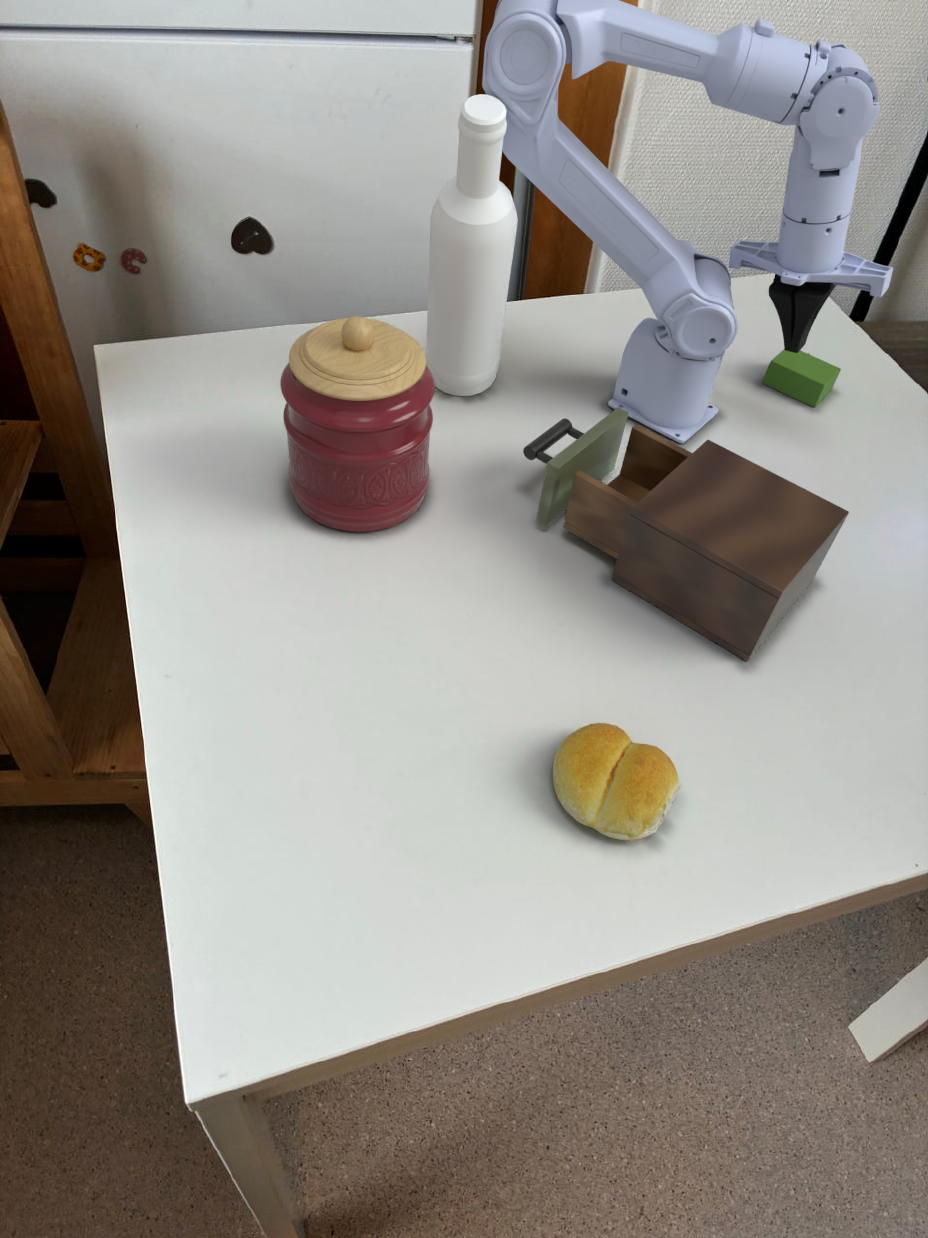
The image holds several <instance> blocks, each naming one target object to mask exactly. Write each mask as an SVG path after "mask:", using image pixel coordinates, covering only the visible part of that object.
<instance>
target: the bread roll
mask: <svg viewBox="0 0 928 1238" xmlns="http://www.w3.org/2000/svg"><path fill="white" fill-rule="evenodd" d="M552 783H553V784H552V785H553V787H554V791H555V794H556V797H557V799H558V802H559V803H560V804H561V806H562V808H563V809H564V811H566V813H568V815H570V816H571V817H572V818H573V819H574V820H575V821H576V822H578V823H580V824H582V825H583V826H586V827H589V828H592V829H594V830H595V831H597V832H598V833H600V834H602V835H603V836H604V837H609V838H611V839H615V840H620V841H632V842H634V841H638V840H642V839H644V838H647V837H649V836H651V835H654V834H655V833H656V832H657V830H658V829H659V828H660V826H661V825H662V823H663V822H664V820H665V819H666V818H667V814H668V812H669V811H670V810H671V808H672V807H673V802H674V801H675V799H676V798H677V796H678V792H679V791H680V789H681V787H682V784H681V782H680V780H679V776H678V771H677V768H676V766H675V764H674V762H673V761H672V759H671V758H670V757H669V755H668V754H666V752H665V751H664V750H662V749H661V748H659V747H658V746H655V745H652V744H648V743H637V742H633V740H631V738H630V736H629V735H628V734H627V732H626V731H625V730H624V729H622V727H619V726H618V725H614V724H610V723H605V722H604V723H603V722H602V723H601V722H596V723H589V724H587V725H585V726H582V727H579V728H578V729H576V730H575V731H573V732H571V733H569V734H568V735H567V736H566V737H565V738H564V739H563V740H562V741H561V743H560V744H559V745H558V747H557V749H556V751H555V753H554V757H553V763H552Z"/></svg>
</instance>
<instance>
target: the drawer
mask: <svg viewBox="0 0 928 1238" xmlns="http://www.w3.org/2000/svg"><path fill="white" fill-rule="evenodd" d="M628 418H629V416H628V412H627V411H625V410H623V409H621V408H619V407H618V408H617V409H614V410H613V411H612V412H610V413H609V414H608V415H606V416H605V417H604V418H603V419H601V420H600V421H598V422H596V424H595V425H594V426H592V427H591V428H589V429H588V430H587V431H585V432H582V431H581V430H579V429H577V428H575V427H573V423H572V421H570V419H568V418H562V419H560V420H559V421H558V422H556V423H555V424H554V425H552V426H551V427H550V428H548V429H547V430H546V431H544V432H543V433H542V434H540V435H539V436H538V437H536V438H535V439H534V440H532V441H531V442H529V443H528V444H527V445H525V446H524V447H523V450H522V452H523V456H524V457H525V458H526V459H527V460H529V461H534V460H535V459H537V460H538V461H540V462H542V463H544V464H545V471H544V475H543V476H544V477H543V480H542V481H543V482H542V488H541V493H540V498H539V503H538V509H537V514H536V520H535V521H536V522H537V523H539V524H541V525H543V526H545V527H547V526H549V525H550V524H551V523H552V522H553V521H555V520H556V519H557V518H558V517H560V516H561V515H562V514H563V513H564V512H565V518H564V522H563V527H562V528H563V529H565V530H567V531H568V532H570V533H572V534H574V535H575V536H577V537H579V538H580V539H582V540H583V541H585V542H587V543H589V544H591V545H592V546H593V547H595V548H597V549H598V550H600V551H601V552H604V553H605V554H607V555H609V556H610V557H612V558H614V559H616V560H617V558H618V555H619V552H620V548H621V545H622V541H623V538H624V534H625V531H626V528H627V524H628V521H629V517H630V514H631V511H632V507H633V506H635V505H636V504H637V503H638V502H639V501H640V500H641V499H642V498H643V497H645V496H646V495H647V494H648V493H649V492H650V491H651V490H652V489H653V488H654V487H656V486H657V485H658V484H659V483H660V482H661V481H662V480H663V479H664V478H666V477H667V476H668V475H669V474H670V473H671V472H672V471H673V470H674V469H676V468H677V467H678V466H679V465H680V464H681V463H682V462H683V461H684V460H685V459H687V458H688V457H689V456H690V455H691V454H692V453H693V452H691V451H689V450H688V449H686V448H683V447H682V446H680V445H679V444H676V443H675V442H672V441H670V440H668V439H667V438H664V437H662V436H661V435H658V434H657V433H655V432H653V431H651V430H648V429H647V428H645V427H643V426H641V425H639V424H637V423H636V424H634V425H633V426H632V427H631V430H630V433H629V437H628V441H627V443H626V444H627V445H626V449H625V452H624V455H623V459H622V464H621V468H620V471H619V474H618V475H617V476H615V477H614V479H612V480H611V481H610V482H608V483H607V484H606V483H603V482H602V481H603V479H605V478H606V477H607V476H608V475H609V474H610V473H612V472H613V471H614V470H615V467H616V463H617V460H618V455H619V452H620V449H621V444H622V439H623V436H624V432H625V428H626V424H627V420H628ZM566 435H568V436H569V437H572V438H573V439H575V440H574V441H572V443H570V444H569V445H568V446H566V447H565V448H564V449H562V451H560V452H559V453H557V454H556V455H554V457H552V456H551V455H549V454H548V453H546V451H547V450H548V449H549V448H551V447H552V446H554V445H555V444H556V443H558V442H559V441H560V440H561V439H563V438H564V437H565V436H566Z"/></svg>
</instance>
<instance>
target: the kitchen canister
mask: <svg viewBox="0 0 928 1238" xmlns="http://www.w3.org/2000/svg"><path fill="white" fill-rule="evenodd" d="M279 383H280V384H279V385H280V391H281V394H282V397H283V398H284V401H285V402H286V403H285V405H284V408H283V413H282V414H283V415H282V418H283V426H284V428H285V430H286V436H287V437H286V438H287V439H286V440H287V448H288V449H287V450H288V460H289V461H288V468H287V470H288V471H287V472H288V482H289V486H290V489H291V491H292V493H293V497H294V500H295V501H296V503H297V505H298V507H299V508H300V509H301V510H302V512H304V513H305V514H306V516H308V517H309V518H310V519H312V520H314V521H316V522H318V523H319V524H321V525H324V526H326V527H329V528H332V529H336V530H340V531H344V532H345V531H346V532H358V533H359V532H360V533H361V532H363V533H364V532H374V531H380V530H385V529H388V528H391V527H394V526H396V525H398V524H400V523H402V522H404V521H406V520H407V519H409V518H410V517H411V516H413V515H414V514H415V513H416V512H417V510H418V509H420V507H421V506H422V504H423V501H424V499H425V496H426V493H427V491H428V488H429V484H430V472H431V471H430V463H429V454H430V440H431V439H430V438H431V437H430V436H431V430H432V428H433V422H434V415H433V410H432V406H431V402H432V400H433V397H434V395H435V390H436V389H435V388H436V386H435V383H434V378H433V375H432V373H431V371H430V369H429V368H428V367H427V365H426V356H425V350H424V348H423V346H422V345H421V344H420V343H419V342H418V340H417V339H415V338H414V337H413V336H412V335H410V334H409V333H407V332H405V331H404V330H402V329H399V328H397V327H396V326H394V325H391V324H389V323H387V322H385V321H382V320H378V319H375V318H369V317H363V316H361V315H360V316H359V315H355V316H351V317H341V318H337V319H332V320H329V321H327V322H324V323H321V324H320V325H318V326H316V327H313V328H311V329H309V330H308V331H305V332H304V333H302V334H301V335H300V336H299V337H297V338H296V340H295V341H294V342H293V343H292V344H291V346H290V350H289V353H288V363H287V364H286V365H285V367H284V368H283V371H282V373H281V376H280V381H279Z"/></svg>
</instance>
